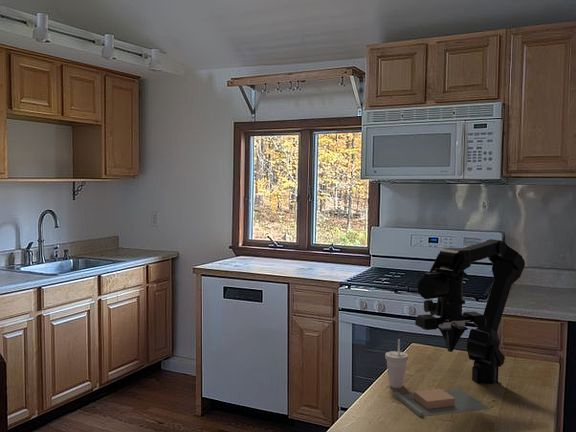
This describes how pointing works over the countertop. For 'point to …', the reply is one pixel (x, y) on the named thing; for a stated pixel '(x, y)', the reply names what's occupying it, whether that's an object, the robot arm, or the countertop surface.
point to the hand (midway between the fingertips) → (450, 351)
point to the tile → (434, 398)
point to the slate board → (461, 405)
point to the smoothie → (396, 367)
